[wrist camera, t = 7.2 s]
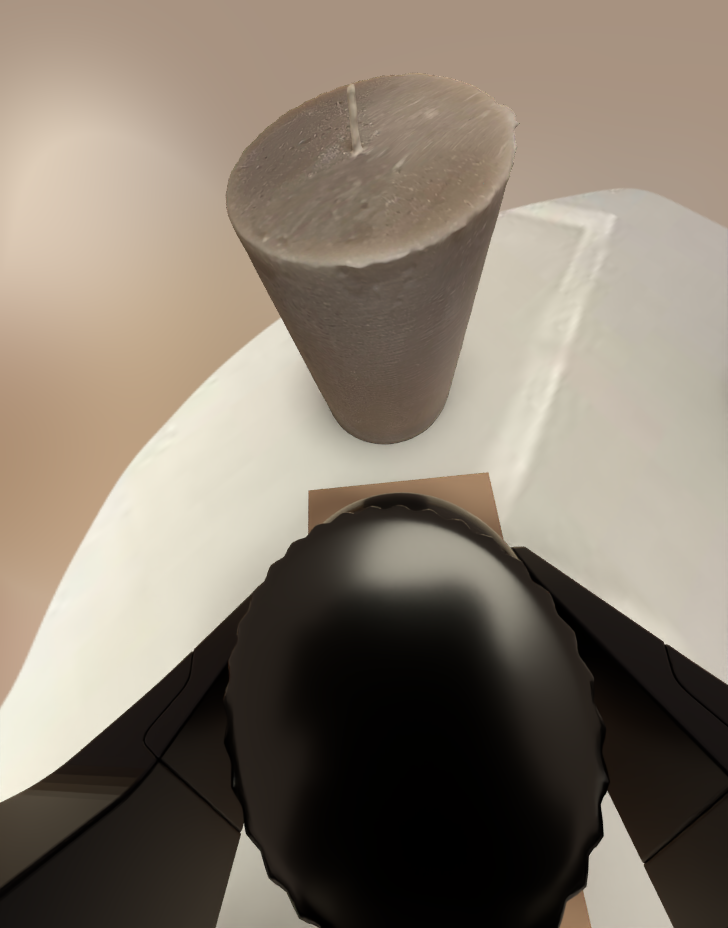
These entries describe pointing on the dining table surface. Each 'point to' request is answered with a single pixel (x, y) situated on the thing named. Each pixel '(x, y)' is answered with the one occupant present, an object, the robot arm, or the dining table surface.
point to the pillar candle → (377, 237)
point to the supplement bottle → (414, 726)
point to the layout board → (468, 495)
